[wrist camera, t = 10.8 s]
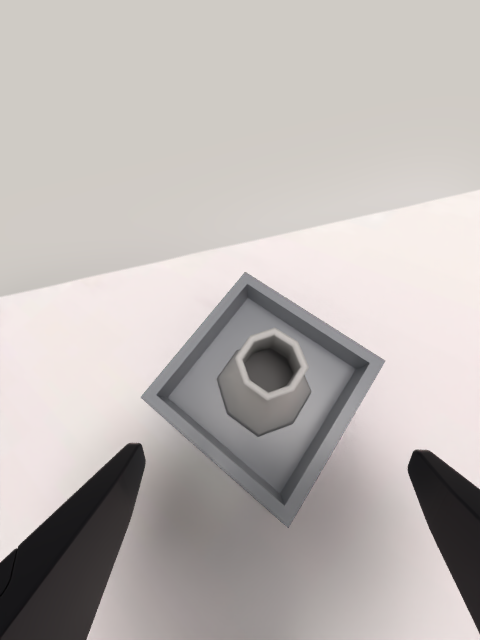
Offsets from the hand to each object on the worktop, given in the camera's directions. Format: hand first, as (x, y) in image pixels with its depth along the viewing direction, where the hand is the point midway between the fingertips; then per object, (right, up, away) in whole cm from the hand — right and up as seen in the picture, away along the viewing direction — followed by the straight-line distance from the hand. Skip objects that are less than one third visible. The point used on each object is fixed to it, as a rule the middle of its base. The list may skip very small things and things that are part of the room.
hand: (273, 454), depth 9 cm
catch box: (+1, -1, +13) cm, 13 cm away
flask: (+1, -1, +13) cm, 13 cm away
